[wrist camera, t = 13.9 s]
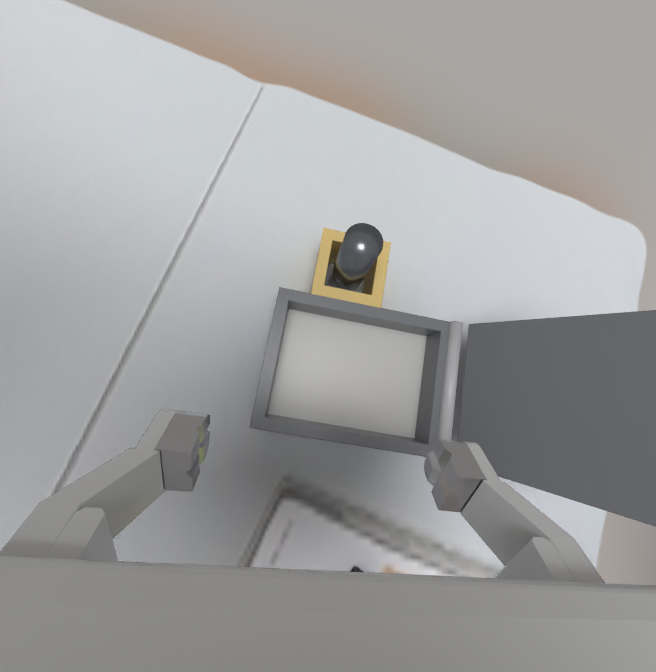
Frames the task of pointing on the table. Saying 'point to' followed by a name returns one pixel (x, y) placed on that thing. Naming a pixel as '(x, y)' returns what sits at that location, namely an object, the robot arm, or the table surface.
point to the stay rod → (356, 256)
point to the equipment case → (358, 374)
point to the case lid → (568, 406)
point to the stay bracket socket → (372, 279)
